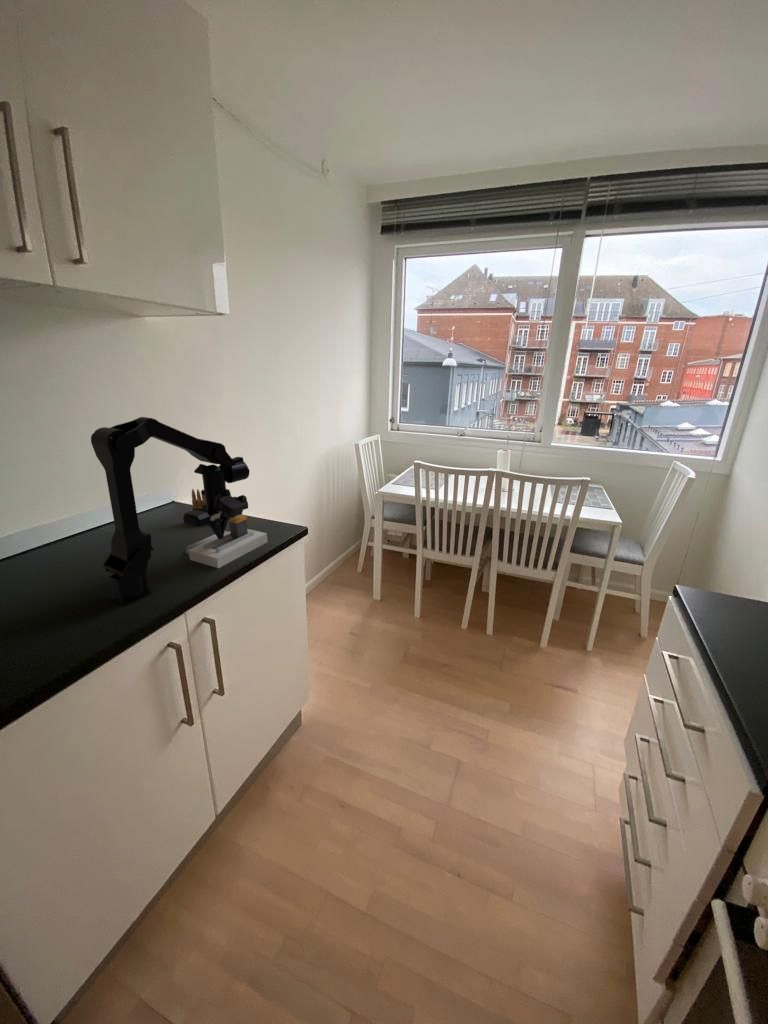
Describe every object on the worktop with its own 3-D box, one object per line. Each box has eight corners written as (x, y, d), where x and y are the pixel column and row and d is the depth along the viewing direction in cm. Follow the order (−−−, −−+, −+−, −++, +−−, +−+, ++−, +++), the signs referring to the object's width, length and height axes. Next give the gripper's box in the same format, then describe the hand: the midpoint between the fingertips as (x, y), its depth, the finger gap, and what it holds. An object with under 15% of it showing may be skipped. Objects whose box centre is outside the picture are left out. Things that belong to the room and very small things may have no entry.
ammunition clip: (193, 522, 147) (188, 489, 143) (196, 520, 148) (191, 488, 144) (223, 523, 146) (219, 490, 142) (225, 521, 148) (221, 488, 144)
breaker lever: (238, 539, 125) (236, 520, 123) (229, 536, 127) (227, 518, 125) (248, 534, 129) (246, 515, 127) (240, 531, 131) (238, 513, 128)
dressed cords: (189, 555, 122) (188, 550, 122) (181, 552, 124) (180, 548, 123) (231, 535, 136) (231, 531, 136) (224, 533, 138) (224, 529, 137)
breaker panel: (218, 568, 115) (216, 555, 114) (190, 559, 120) (188, 547, 118) (267, 542, 132) (266, 530, 131) (241, 535, 136) (239, 524, 135)
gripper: (209, 500, 105) (215, 556, 110) (260, 483, 121) (264, 533, 126) (178, 493, 109) (185, 547, 115) (231, 478, 125) (236, 526, 131)
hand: (220, 538), depth 121 cm, fingers closed
